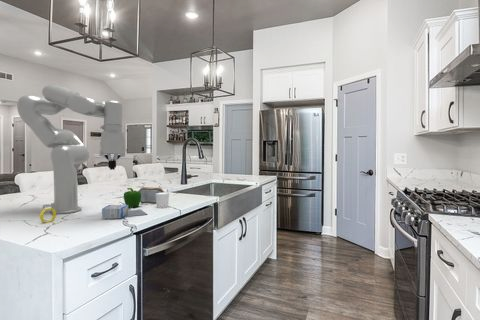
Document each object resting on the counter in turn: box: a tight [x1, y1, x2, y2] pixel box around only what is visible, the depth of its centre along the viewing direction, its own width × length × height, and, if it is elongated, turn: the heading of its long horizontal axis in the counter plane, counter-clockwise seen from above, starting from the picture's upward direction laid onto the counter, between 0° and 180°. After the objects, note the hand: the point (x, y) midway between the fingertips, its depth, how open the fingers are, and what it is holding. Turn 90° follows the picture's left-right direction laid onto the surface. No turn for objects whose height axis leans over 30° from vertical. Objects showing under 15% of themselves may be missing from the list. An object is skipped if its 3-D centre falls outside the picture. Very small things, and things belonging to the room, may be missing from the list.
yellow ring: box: [39, 207, 57, 224], centre depth 118 cm, size 6×3×6 cm, turn 161°
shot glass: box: [155, 192, 170, 209], centre depth 149 cm, size 7×7×7 cm
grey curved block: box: [138, 186, 164, 204], centre depth 160 cm, size 15×3×8 cm, turn 84°
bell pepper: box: [123, 187, 141, 208], centre depth 149 cm, size 8×8×10 cm
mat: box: [109, 209, 148, 220], centre depth 132 cm, size 16×12×1 cm
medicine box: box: [101, 204, 129, 220], centre depth 127 cm, size 8×4×9 cm
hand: (112, 169), depth 131 cm, fingers closed
